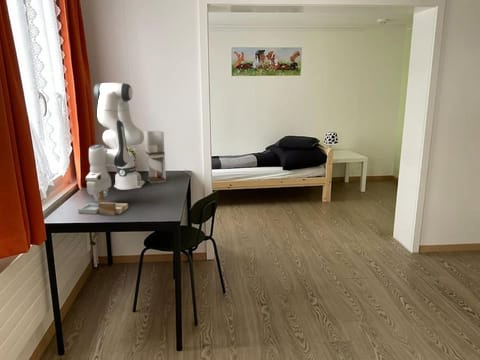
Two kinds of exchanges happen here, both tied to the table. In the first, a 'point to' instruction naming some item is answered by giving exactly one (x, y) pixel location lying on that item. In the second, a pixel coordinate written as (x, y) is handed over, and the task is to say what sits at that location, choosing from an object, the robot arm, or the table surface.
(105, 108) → the robot arm
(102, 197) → the dowel
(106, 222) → the table surface
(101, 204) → the wooden block
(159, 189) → the table surface
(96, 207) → the tray
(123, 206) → the board
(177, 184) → the table surface
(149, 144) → the display case
